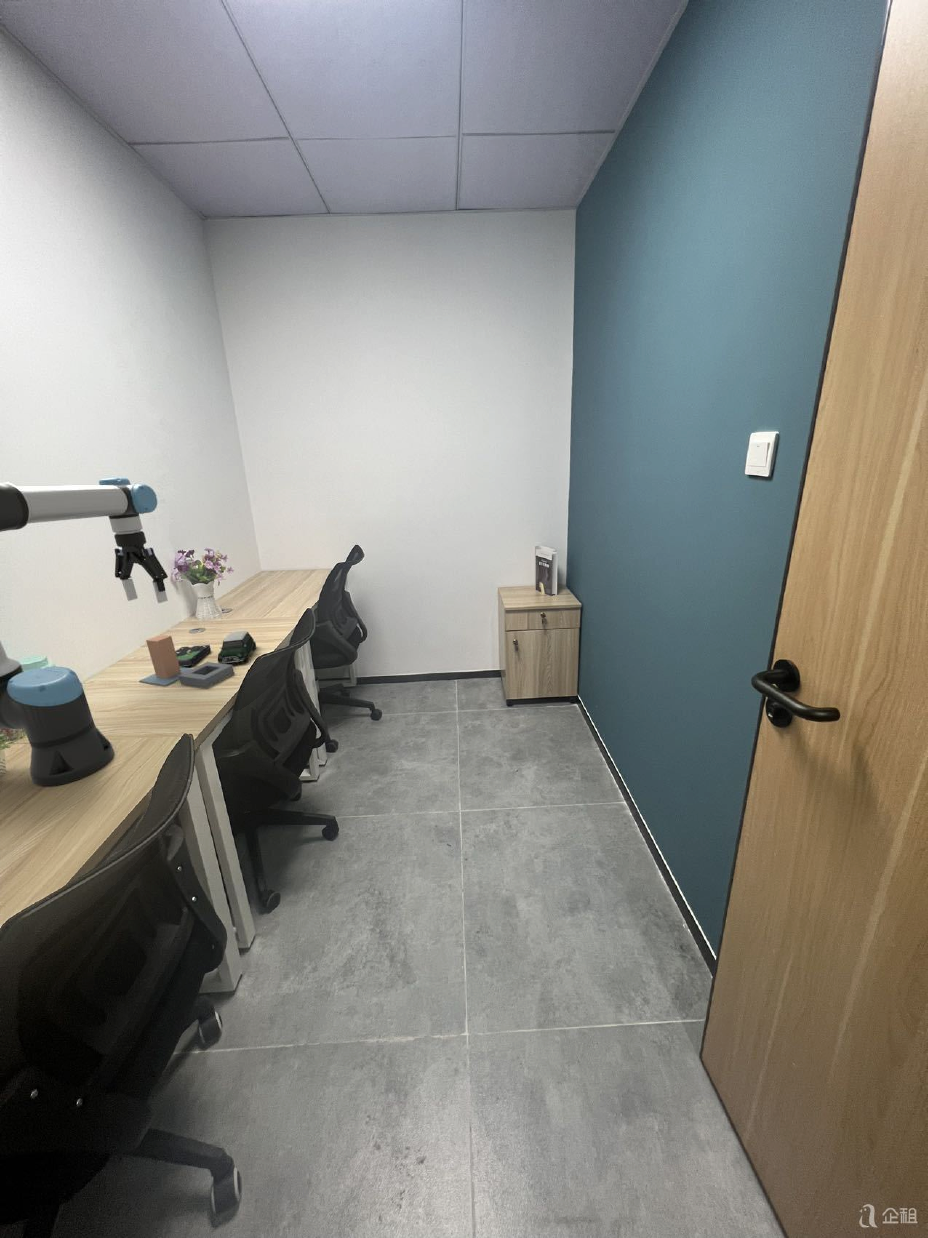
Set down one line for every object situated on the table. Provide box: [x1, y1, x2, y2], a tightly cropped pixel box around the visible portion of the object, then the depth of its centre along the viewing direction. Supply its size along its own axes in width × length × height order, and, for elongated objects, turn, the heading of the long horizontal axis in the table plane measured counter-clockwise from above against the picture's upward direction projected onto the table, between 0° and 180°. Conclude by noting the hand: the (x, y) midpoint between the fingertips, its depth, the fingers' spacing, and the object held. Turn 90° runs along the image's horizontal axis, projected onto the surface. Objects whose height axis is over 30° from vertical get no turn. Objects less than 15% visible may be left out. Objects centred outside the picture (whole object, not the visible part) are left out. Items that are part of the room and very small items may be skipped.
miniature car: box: [217, 630, 257, 664], centre depth 171 cm, size 9×18×8 cm, turn 10°
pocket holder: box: [178, 661, 235, 689], centre depth 155 cm, size 11×11×3 cm
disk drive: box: [175, 644, 212, 667], centre depth 171 cm, size 10×3×15 cm
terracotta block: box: [145, 634, 181, 679], centre depth 157 cm, size 5×5×13 cm
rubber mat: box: [138, 666, 192, 688], centre depth 159 cm, size 12×12×1 cm
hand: (147, 600), depth 150 cm, fingers open, 13 cm apart
